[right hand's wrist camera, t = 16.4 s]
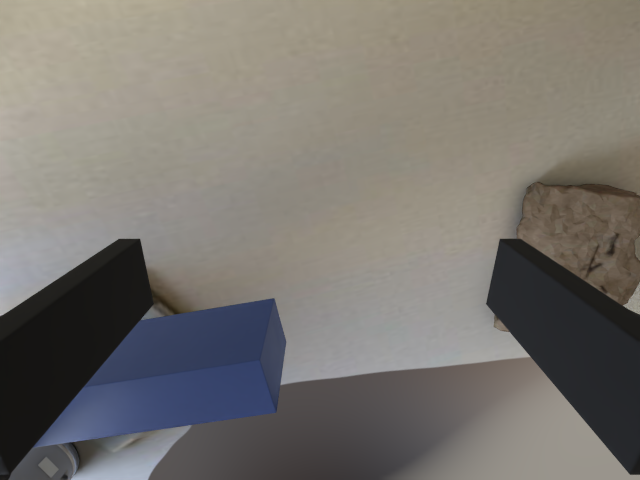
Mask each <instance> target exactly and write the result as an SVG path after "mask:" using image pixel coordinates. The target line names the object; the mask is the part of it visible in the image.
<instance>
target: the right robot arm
mask: <svg viewBox="0 0 640 480" xmlns="http://www.w3.org/2000/svg"><path fill="white" fill-rule="evenodd" d="M153 304H154V303H153V298H152V294H151V289H150V284H149V279H148V275H147V270H146V265H145V260H144V256H143V251H142V246H141V241H140V239H118V240H117V241H115V242H114V243H112V244H111V245H109V246H108V247H106V248H104V249H103V250H101V251H100V252H98V253H97V254H95V255H94V256H92V257H91V258H89V259H88V260H86V261H85V262H83V263H82V264H80V265H79V266H77V267H76V268H74V269H73V270H71V271H69V272H68V273H66V274H65V275H63V276H62V277H60V278H59V279H57V280H56V281H54V282H53V283H51V284H50V285H48V286H47V287H45V288H44V289H42V290H41V291H39V292H38V293H36V294H35V295H33V296H31V297H30V298H28V299H27V300H25V301H24V302H22V303H21V304H19V305H18V306H16V307H15V308H13V309H12V310H10V311H9V312H7V313H6V314H4V315H2V316H0V475H10V474H11V473H12V471H13V470H14V469H15V468H16V467H17V466H18V464H19V463H20V462H21V461H22V460H23V458H24V457H25V456H26V455H27V454H28V453H29V451H30V450H31V449H32V448H33V447H34V445H35V444H36V443H37V442H38V441H39V439H40V438H41V437H42V436H43V435H44V434H45V432H46V431H47V430H48V429H49V428H50V426H51V425H52V424H53V423H54V422H55V420H56V419H57V418H58V417H59V416H60V415H61V413H62V412H63V411H64V410H65V409H66V407H67V406H68V405H69V404H70V403H71V402H72V400H73V399H74V398H75V397H76V396H77V394H78V393H79V392H80V391H81V390H82V388H83V387H84V386H85V385H86V384H87V383H88V381H89V380H90V379H91V378H92V377H93V375H94V374H95V373H96V372H97V371H98V369H99V368H100V367H101V366H102V365H103V364H104V362H105V361H106V360H107V359H108V358H109V356H110V355H111V354H112V353H113V352H114V350H115V349H116V348H117V347H118V346H119V345H120V343H121V342H122V341H123V340H124V339H125V337H126V336H127V335H128V334H129V333H130V332H131V330H132V329H133V328H134V327H135V326H136V324H137V323H138V322H139V321H140V320H141V318H142V317H143V316H144V315H145V314H146V313H147V311H148V310H149V309H150V308H151V307H152V305H153ZM486 304H487V305H488V307H489V308H490V309H491V310H492V311H493V313H494V314H495V315H496V316H497V317H498V318H499V320H500V321H501V322H502V323H503V324H504V326H505V327H506V328H507V329H508V330H509V332H510V333H511V334H512V335H513V336H514V337H515V339H516V340H517V341H518V342H519V343H520V345H521V346H522V347H523V348H524V349H525V350H526V352H527V353H528V354H529V355H530V356H531V358H532V359H533V360H534V361H535V362H536V364H537V365H538V366H539V367H540V368H541V369H542V371H543V372H544V373H545V374H546V375H547V377H548V378H549V379H550V380H551V381H552V383H553V384H554V385H555V386H556V387H557V388H558V390H559V391H560V392H561V393H562V394H563V396H564V397H565V398H566V399H567V400H568V402H569V403H570V404H571V405H572V406H573V407H574V409H575V410H576V411H577V412H578V413H579V415H580V416H581V417H582V418H583V419H584V420H585V422H586V423H587V424H588V425H589V426H590V428H591V429H592V430H593V431H594V432H595V434H596V435H597V436H598V437H599V438H600V439H601V441H602V442H603V443H604V444H605V445H606V447H607V448H608V449H609V450H610V451H611V453H612V454H613V455H614V456H615V457H616V458H617V460H618V461H619V462H620V463H621V464H622V466H623V467H624V468H625V469H626V470H627V471H628V473H629V474H630V475H640V315H639V314H637V313H635V312H633V311H630V310H628V309H627V308H625V307H624V306H622V305H621V304H619V303H618V302H616V301H615V300H613V299H612V298H610V297H609V296H607V295H605V294H604V293H602V292H601V291H599V290H598V289H596V288H595V287H593V286H592V285H590V284H589V283H587V282H586V281H584V280H583V279H581V278H580V277H578V276H577V275H575V274H574V273H572V272H571V271H569V270H567V269H566V268H564V267H563V266H561V265H560V264H558V263H557V262H555V261H554V260H552V259H551V258H549V257H548V256H546V255H545V254H543V253H542V252H540V251H539V250H537V249H536V248H534V247H532V246H531V245H529V244H528V243H526V242H525V241H523V240H522V239H500V241H499V246H498V251H497V256H496V260H495V265H494V270H493V275H492V279H491V284H490V289H489V294H488V298H487V303H486Z"/></svg>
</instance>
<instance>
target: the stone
mask: <svg viewBox="0 0 640 480" xmlns="http://www.w3.org/2000/svg"><path fill="white" fill-rule="evenodd" d="M522 214H523V217H522V219H521V221H520V224H519V225H518V227H517V239H522V240H523V241H525V242H526V243H528V244H529V245H531V246H532V247H534V248H536V249H537V250H539V251H540V252H542V253H543V254H545V255H546V256H548V257H549V258H551V259H552V260H554V261H555V262H557V263H558V264H560V265H561V266H563V267H564V268H566V269H567V270H569V271H571V272H572V273H574V274H575V275H577V276H578V277H580V278H581V279H583V280H584V281H586V282H587V283H589V284H590V285H592V286H593V287H595V288H596V289H598V290H599V291H601V292H602V293H604V294H605V295H607V296H609V297H610V298H612V299H613V300H615V301H616V302H618V303H619V304H621V305H622V306H623V305H624V304H626V303H628V300H629V298H630V297H631V296H632V295H633V293H634V291H635V289H636V287H637V286H638V284H639V282H640V261H639V260H638V259H637V257H636V255H635V246H634V241H635V240H636V239H637V238H638V236H639V235H640V196H638V195H636V193H634V192H630V191H625V190H621V189H617V188H614V187H611V186H608V185H595V184H585V185H581V186H572V185H569V186H560V185H551V186H549V185H543V184H542V183H540V182H536V183H533V184H532V185H531V186H529V187H528V188H527V190H526V195H525V197H524V200H523V208H522ZM494 320H495V321H494V327H495V328H497V329H499V330H501V331H506V332H509V330H508V329H507V328H506V327H505V326H504V324H503V323H502V322H501V321H500V320H499V318H498V317H497V316H496V315H495V317H494Z"/></svg>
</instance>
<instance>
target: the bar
mask: <svg viewBox="0 0 640 480" xmlns="http://www.w3.org/2000/svg"><path fill="white" fill-rule="evenodd" d="M285 347H286V339H285V336H284V332H283V328H282V325H281V321H280V317H279V314H278V310H277V306H276V303H275V299H274V298H272V299H266V300H260V301H254V302H248V303H242V304H236V305H230V306H224V307H218V308H212V309H206V310H200V311H194V312H188V313H182V314H176V315H170V316H164V317H158V318H152V319H146V320H140V321H139V322H138V323H137V324H136V326H135V327H134V328H133V329H132V330H131V332H130V333H129V334H128V335H127V336H126V337H125V339H124V340H123V341H122V342H121V343H120V345H119V346H118V347H117V348H116V349H115V350H114V352H113V353H112V354H111V355H110V356H109V358H108V359H107V360H106V361H105V362H104V364H103V365H102V366H101V367H100V368H99V369H98V371H97V372H96V373H95V374H94V375H93V377H92V378H91V379H90V380H89V381H88V383H87V384H86V385H85V386H84V387H83V388H82V390H81V391H80V392H79V393H78V394H77V396H76V397H75V398H74V399H73V400H72V402H71V403H70V404H69V405H68V406H67V407H66V409H65V410H64V411H63V412H62V413H61V415H60V416H59V417H58V418H57V419H56V420H55V422H54V423H53V424H52V425H51V426H50V428H49V429H48V430H47V431H46V432H45V434H44V435H43V436H42V437H41V438H40V439H39V441H38V442H37V443H36V444H35V445H34V447H41V446H48V445H55V444H62V443H69V442H76V441H83V440H90V439H97V438H104V437H111V436H118V435H125V434H132V433H138V432H145V431H152V430H159V429H166V428H173V427H180V426H187V425H194V424H200V423H208V422H215V421H222V420H228V419H236V418H242V417H249V416H256V415H263V414H270V413H276V411H277V404H278V397H279V390H280V383H281V375H282V368H283V361H284V354H285ZM34 447H33V448H34Z"/></svg>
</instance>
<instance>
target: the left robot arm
mask: <svg viewBox="0 0 640 480" xmlns="http://www.w3.org/2000/svg"><path fill="white" fill-rule="evenodd" d="M78 466H79V456H78V453H77V451H76V449H75V448H74V446H73V445H72V444H71V443H70V442H69V443H62V444H55V445H48V446H41V447H34V448H32V449H31V450H30V451H29V453H28V454H27V455H26V456H25V457H24V458H23V460H22V461H21V462H20V463H19V464H18V466H17V467H16V468H15V469H14V470H13V471H12V473H11V474H10V475H0V480H70V479H71V478H72V476H73V475H74V473H75V472H76V470H77V469H78Z"/></svg>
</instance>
